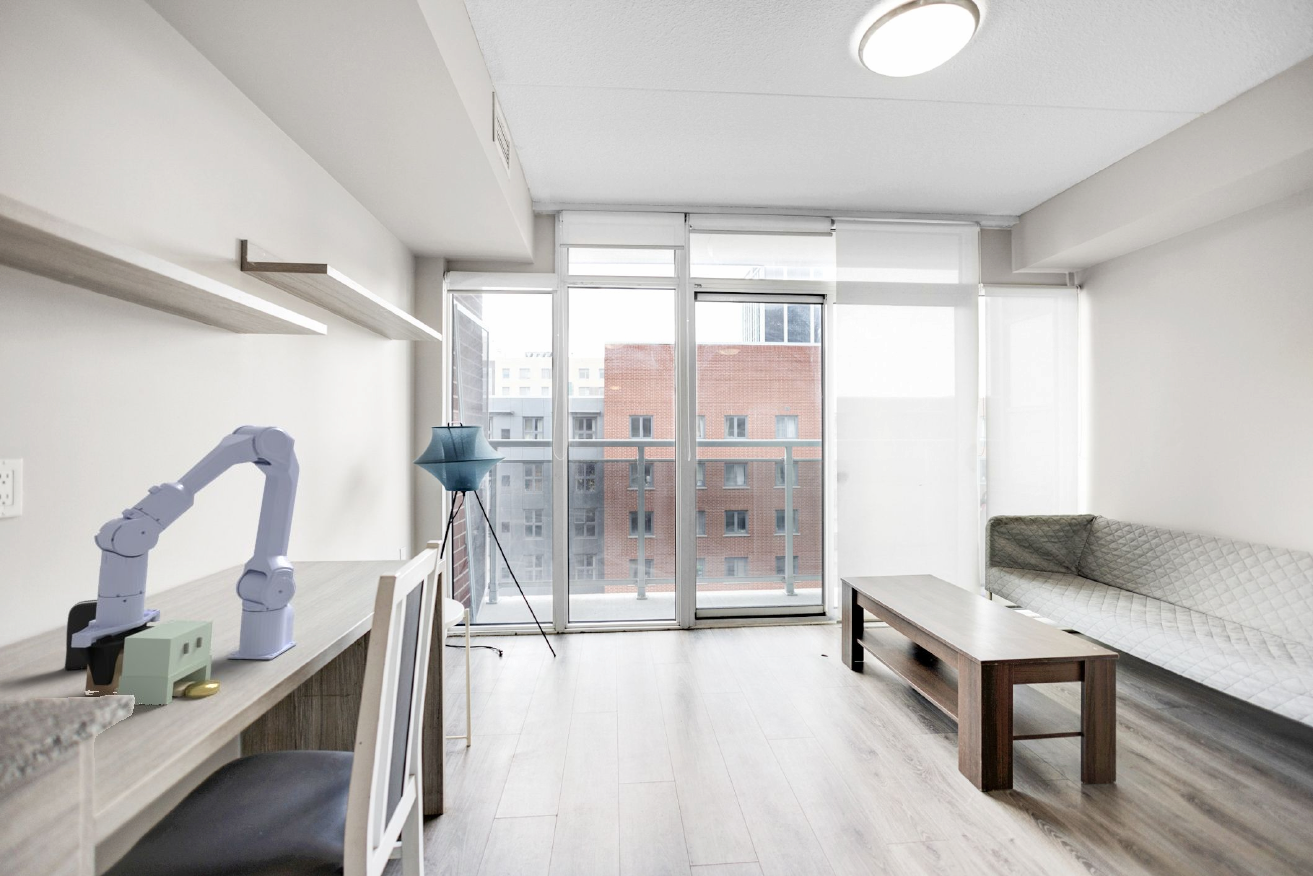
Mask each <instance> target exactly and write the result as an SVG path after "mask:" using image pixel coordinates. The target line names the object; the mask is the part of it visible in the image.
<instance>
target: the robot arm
mask: <svg viewBox="0 0 1313 876" xmlns="http://www.w3.org/2000/svg"><path fill="white" fill-rule="evenodd" d="M294 447H295V439H294V438H293V437H292V436H291V435H290V434H289V433H288V432H287V431H286V430H285V429H284V428H282V427H280V426H277V425H275V426H274V425H271V426H270V425H269V426H258V425H257V426H255V425H249V424H248V425H247V424H246V425H241V426H239V427H237V428H235V429H234V430H233V431H232V433H229V434H227V435H225V436H224V437H223V438H222V439H221V440H220V442H219V443H218V444H217V445H216V446H215V447H214V448H213V449H212V450H210V451H209V452H208V453H206V455H205V456H204V457H203V458H202V459H201V460H199V461H198V462H197V463H196V464H195V465H194V466H193V467H192V468H191V469H189V470H188V471H187V472H186V473H185V474H184V475H183V476H181V477H180V478H179V479H178V480H177V481H175V482H163V483H161V484H160V485H152V486H151V487H150V488H149V489H148V490H147V492H149V493H148V494H147V495H146V496H145V497H143V499H141V500H139V501H138V502H137V503H136V504H135V505H133V506H132V507H131V508H125V509H124V510H123V511H121V515H122V517H117V518H114V519H110V520H108V521H106V522H105V523H104V524H103V525H102V526H101V527H100V529H99V532H98V533H97V534H96V535H94V542H95V545H96V546H97V547H98V549H100V550H101V556H100V557H101V558H100V566H99V575H98V586H97V588H98V589H97V599H96V600H97V609H96V619H95V620H92V621H90V622H89V626H88V627H87V628H85V629H83V630H82V631H80V632H78V633H75V634H73V635H72V645H71V647H77V649H78V650H79V651H80V652H81V653H82V655H83V656H84V658H85V659H86V661H87V663H88V666H89V669H90V672H91V675H92V679H93V683H94V685H109V684H111V683H112V680H113V677H114V672H115V666H116V662H117V658H118V655H119V653H120V651H121V649H124V644H125V638H126V637H128V636H131V635H134V634H136V633H139V632H142V631H144V630H147V629H150V628H152V627H155V626H156V625H148V624H149V623H156V622H159V621H160V618H161V617H160V616H161V615H160V614H161V609H159V608H148V609H145V602H146V588H147V576H148V564H149V563H148V562H149V561H148V560H149V551H150V550H152V549H154V548H155V547H156V546H157V544H158V541H159V537H160V534H161V533H162V532H164V531H165V530H166V529H167V528H169V526H171V525H172V524H173V523H174V522H175V521H176V520H178V519H179V518H180V517H182V516H183V514H185V513H186V512H187V511H188V510H189V509H191V508H192V507H193V506H194V503H195V495H196V494H197V493H198V492H200V491H201V490H202V489H204V488H205V487H207V486H208V485H209V484H210V483H212V482H213V481H214V480H216V479H217V478H219V477H220V475H222V474H223V473H225V472H226V471H228V470H229V469H230V468H232V467H233V466H234V465H240V464H246V463H252V464H254V465H255V466H256V467H257V468H258V469H259V470H260V471H261V472H262V473H263V474H264V476H265V481H264V488H263V493H262V500H261V506H260V512H259V520H258V523H257V524H258V525H257V531H256V538H255V544H254V550H253V555H252V556H251V558H249V560H247V561H246V562H245V564H244V567H243V572H242V573H241V574H240V576H239V579H238V580H237V581H236V585H235V593H236V595H237V597H239V599H241V619H240V629H239V630H240V631H239V642H238V643H239V645H238V650H236V651H234V652H232V653H230V654H229V655H227V659H232V660H233V659H238V660H243V659H244V660H272V659H274V658H276V657H278V656H279V655H281V654H282V653H284V652H285V651H287V650H289V649H291V648H293V647H294V646H295V645H297V644H298V643H297V641H293V634H294V632H293V631H294V619H295V611H294V608H293V607H292V605H291V604H290V601H292V599H293V597H294V595H295V593H296V590H297V589H296V588H297V585H296V581H295V579H294V566H293V565H292V563H291V561H290V560H289V559H288V557H287V556H288V549H289V541H290V535H291V528H292V523H293V516H294V509H295V508H294V507H295V502H296V496H297V489H298V482H299V477H300V464H299V462H298V458H297V456H296V453H295V450H294ZM112 636H113V637H114V638H113V639H112ZM114 640H115V641H114Z"/></svg>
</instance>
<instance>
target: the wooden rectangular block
mask: <svg viewBox="0 0 1313 876" xmlns="http://www.w3.org/2000/svg"><path fill="white" fill-rule="evenodd" d="M123 656H124V649H121V651H120V653H119V655H118V658H117V662H116V666H115V672H114V677H113V680H112V683H111V684H109V685H94V683H93V679H92V675H91V672H90V669H89V666H88V667H87V668H86V679H85V680H86V681H85V689H84V690H85V691H88V690H90V691H99V692H94V693H89V694H93V695H85V694H84V696H85V697H86V696H87V697H89V696H90V697H102V696H101V695H118V686H119V676H122V668H123ZM191 683H194V682H188V681H175V682H173V694H172V696H178V698H180V697H182V696H185V689H186V686H187V685H189V684H191ZM113 692H117V693H113ZM181 695H182V696H181Z"/></svg>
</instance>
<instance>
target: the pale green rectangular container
mask: <svg viewBox="0 0 1313 876" xmlns="http://www.w3.org/2000/svg"><path fill="white" fill-rule="evenodd" d="M154 626H155V627H152V628H150V629H147V630H144V631H142V632H139V633H136V634H134V635H131V636H128V637H126V638H125V644H124V656H123V668H122V676H119V686H118V695H134V697H135V704H134V705H133V706H137V705H138V706H139V703H140V704H141V703H142V704H145V705H144V706H164V705H163V704H167V703H169V704H171V703H172V702H173V697H172V694H173V682H175V681H188V682H197V681H202V680H211V671H212V662H213V661H212V659H213V658H212V657H213V655H211V646H212V633H213V632H212V631H213V621H212V620H211V621H207V620H179V619H178V620H175V619H174V620H172V619H171V620H169V621H165V622H163V623H161V624H158V625H154ZM170 702H171V703H170ZM149 704H150V705H149ZM151 704H152V705H151ZM159 704H161V705H159ZM167 705H168V704H167Z"/></svg>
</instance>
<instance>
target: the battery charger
mask: <svg viewBox="0 0 1313 876" xmlns="http://www.w3.org/2000/svg"><path fill="white" fill-rule="evenodd" d="M96 609H97V599H89V600H82V601H78V602H77V603H75V604H74V605H73V606H71V608H70V610H69V612H68V614H67V615H68V616H67V621H66V630H65V631H66V634H65V635H66V637H65V640H66V641H65V658H64V660H65V661H64V666H63V667H64V668H63V669H64V670H65V671H70V670H71V669H72V670H80V669H87V667H88V663H87V661H86V659H85V658H84V656H83V655H82V653H81V652H80V651H79V650H78V649H77V647H71V645H72V635H73V634H75V633H78V632H80V631H82V630H83V629H85V628H87V627H88V626H89V622H90V621H92V620H95V619H96ZM113 638H114V637H113V636H112V639H113ZM114 641H115V640H114Z"/></svg>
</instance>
